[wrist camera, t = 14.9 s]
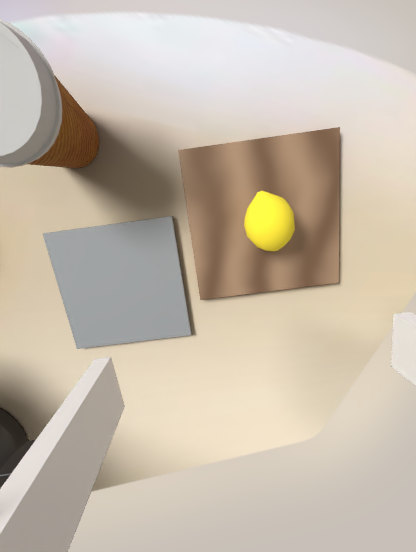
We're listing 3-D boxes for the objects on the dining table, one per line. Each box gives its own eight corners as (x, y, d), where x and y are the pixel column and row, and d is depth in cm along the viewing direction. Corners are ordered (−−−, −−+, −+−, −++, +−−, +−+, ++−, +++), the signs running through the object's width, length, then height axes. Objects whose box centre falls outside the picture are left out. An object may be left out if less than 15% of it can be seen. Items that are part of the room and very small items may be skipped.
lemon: (290, 237, 31) (308, 249, 26) (248, 252, 31) (259, 266, 26) (277, 181, 28) (295, 182, 23) (232, 197, 28) (240, 202, 23)
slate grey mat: (80, 345, 35) (77, 348, 34) (46, 233, 31) (42, 233, 30) (191, 332, 34) (191, 335, 34) (172, 216, 30) (171, 216, 30)
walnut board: (200, 297, 33) (200, 299, 32) (179, 152, 29) (178, 150, 28) (334, 280, 33) (338, 282, 32) (335, 130, 28) (339, 127, 27)
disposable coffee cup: (24, 166, 29) (-99, 137, 17) (36, 76, 27) (-96, -28, 15) (103, 194, 30) (37, 182, 18) (122, 109, 27) (60, 33, 16)
